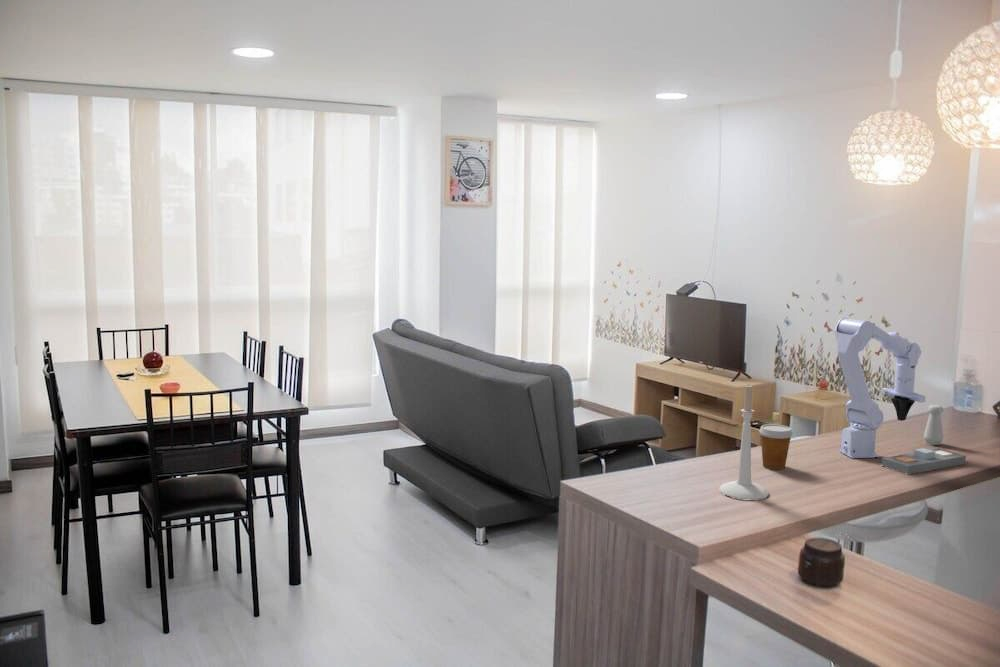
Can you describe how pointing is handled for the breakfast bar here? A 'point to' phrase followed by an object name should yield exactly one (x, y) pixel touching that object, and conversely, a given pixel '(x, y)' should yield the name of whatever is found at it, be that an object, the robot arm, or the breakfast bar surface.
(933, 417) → the salt shaker
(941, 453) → the cream key
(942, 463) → the key panel
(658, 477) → the breakfast bar surface
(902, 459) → the terracotta key
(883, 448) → the breakfast bar surface
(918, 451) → the slate key
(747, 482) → the candlestick
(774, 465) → the disposable coffee cup
